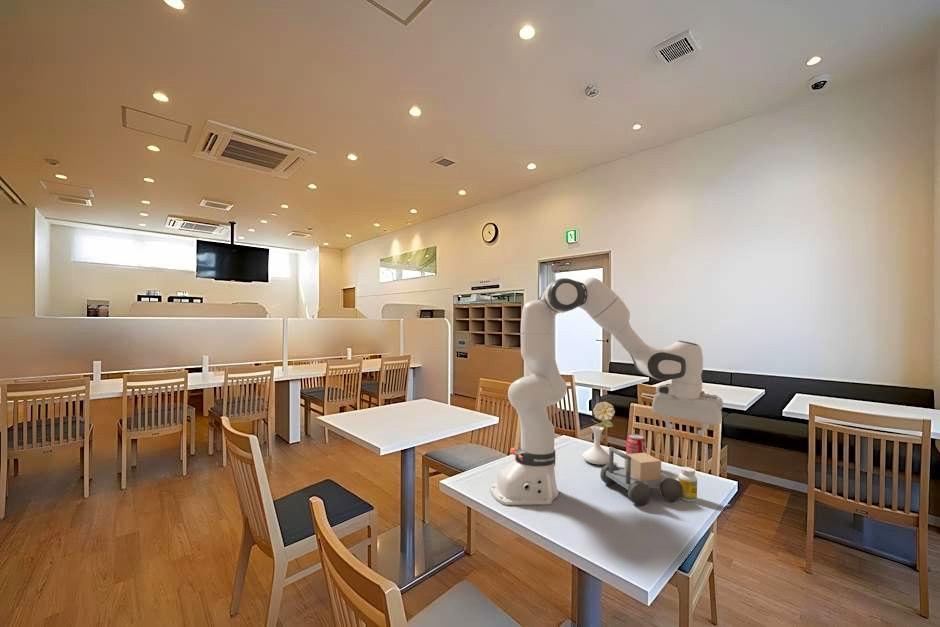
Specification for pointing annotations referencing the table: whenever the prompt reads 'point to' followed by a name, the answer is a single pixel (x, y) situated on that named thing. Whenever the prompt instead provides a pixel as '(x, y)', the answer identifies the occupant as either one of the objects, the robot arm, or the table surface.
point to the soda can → (635, 444)
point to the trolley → (640, 477)
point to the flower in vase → (599, 434)
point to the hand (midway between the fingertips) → (684, 432)
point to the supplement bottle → (688, 484)
